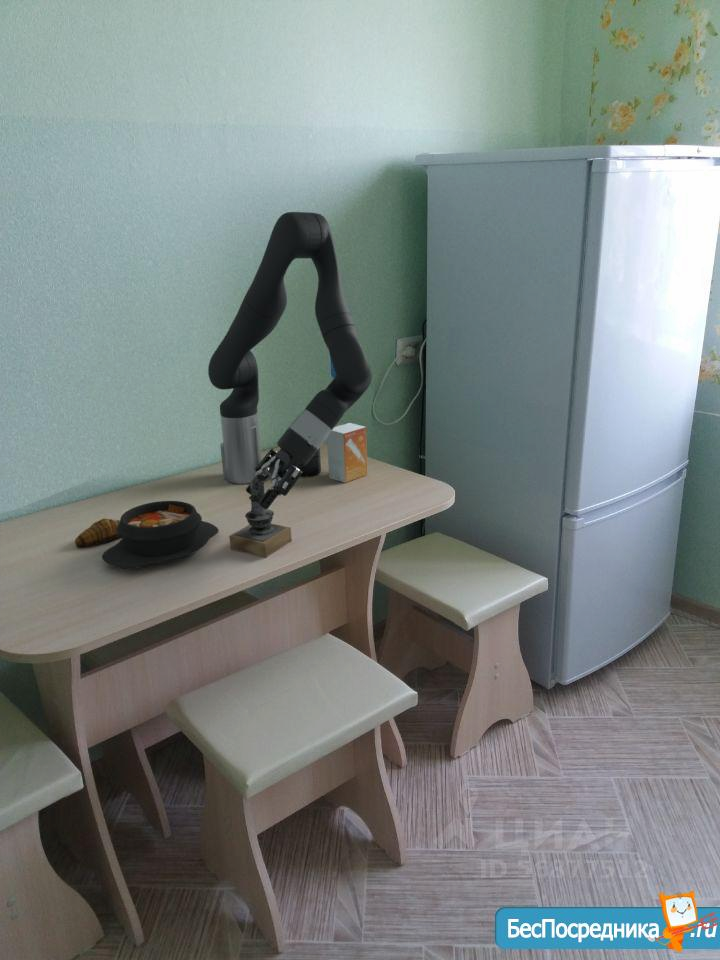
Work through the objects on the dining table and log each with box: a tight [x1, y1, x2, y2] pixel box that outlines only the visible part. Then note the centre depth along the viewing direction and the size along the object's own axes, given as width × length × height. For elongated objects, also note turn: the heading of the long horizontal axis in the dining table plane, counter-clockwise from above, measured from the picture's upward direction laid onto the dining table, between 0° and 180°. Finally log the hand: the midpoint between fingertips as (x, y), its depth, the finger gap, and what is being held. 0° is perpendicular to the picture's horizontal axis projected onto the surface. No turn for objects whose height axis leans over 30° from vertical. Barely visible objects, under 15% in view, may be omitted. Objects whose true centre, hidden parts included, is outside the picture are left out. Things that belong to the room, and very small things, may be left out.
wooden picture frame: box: [228, 522, 293, 558], centre depth 163 cm, size 9×9×3 cm
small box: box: [326, 422, 368, 484], centre depth 199 cm, size 8×6×13 cm
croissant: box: [74, 518, 122, 548], centre depth 168 cm, size 14×7×5 cm, turn 131°
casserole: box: [101, 500, 220, 569], centre depth 161 cm, size 25×19×8 cm
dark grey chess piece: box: [244, 476, 275, 536], centre depth 160 cm, size 6×6×12 cm
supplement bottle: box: [297, 447, 322, 478], centre depth 203 cm, size 7×7×12 cm
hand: (255, 500), depth 160 cm, fingers open, 8 cm apart
